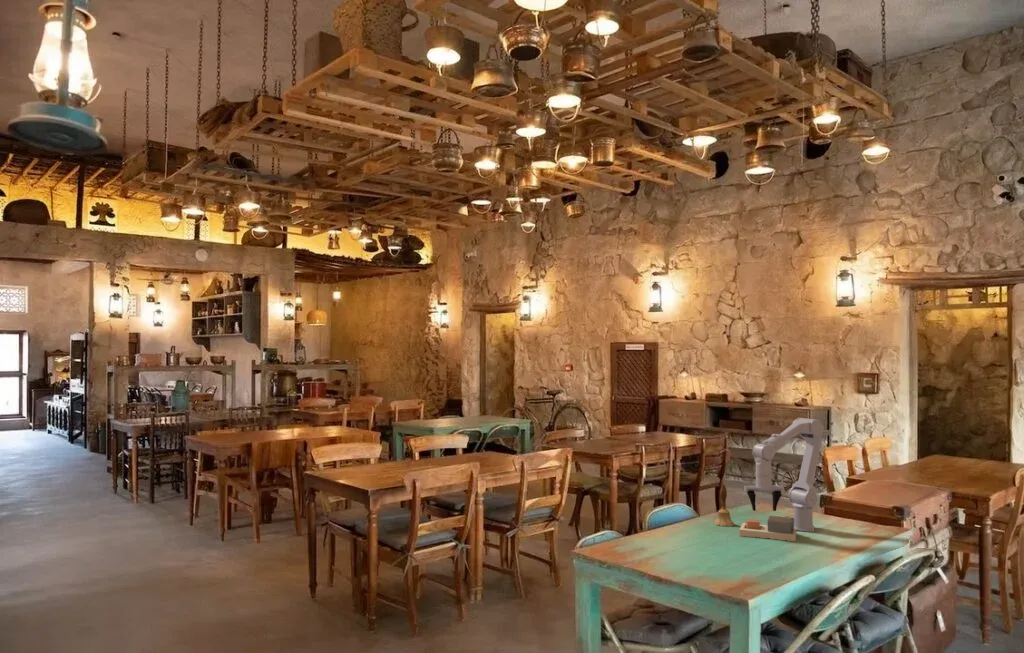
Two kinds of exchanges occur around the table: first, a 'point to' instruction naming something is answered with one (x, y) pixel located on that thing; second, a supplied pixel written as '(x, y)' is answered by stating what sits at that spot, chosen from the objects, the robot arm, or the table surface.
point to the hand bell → (724, 511)
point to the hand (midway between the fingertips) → (764, 510)
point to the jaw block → (752, 524)
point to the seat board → (766, 533)
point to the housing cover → (781, 524)
